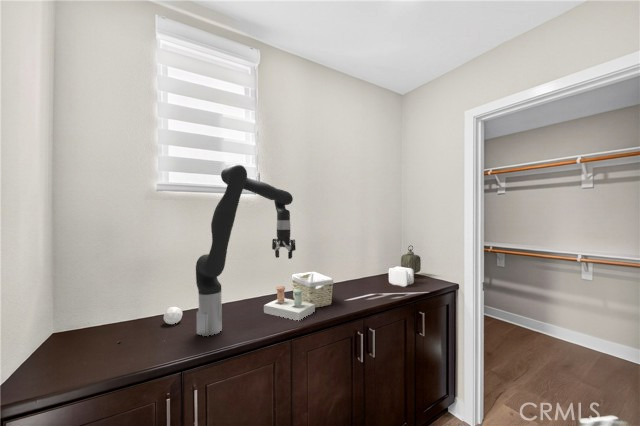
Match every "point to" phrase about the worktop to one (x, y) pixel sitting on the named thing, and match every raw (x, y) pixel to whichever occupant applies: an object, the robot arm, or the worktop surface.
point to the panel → (289, 309)
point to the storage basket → (314, 288)
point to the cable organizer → (401, 276)
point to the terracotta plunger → (280, 293)
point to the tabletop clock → (411, 261)
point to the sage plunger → (297, 297)
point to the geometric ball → (173, 315)
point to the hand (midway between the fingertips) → (283, 258)
